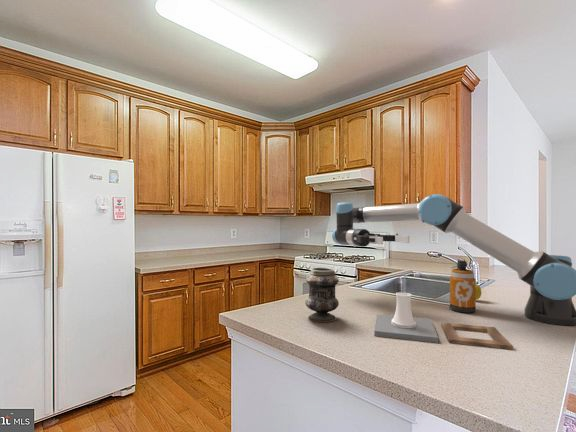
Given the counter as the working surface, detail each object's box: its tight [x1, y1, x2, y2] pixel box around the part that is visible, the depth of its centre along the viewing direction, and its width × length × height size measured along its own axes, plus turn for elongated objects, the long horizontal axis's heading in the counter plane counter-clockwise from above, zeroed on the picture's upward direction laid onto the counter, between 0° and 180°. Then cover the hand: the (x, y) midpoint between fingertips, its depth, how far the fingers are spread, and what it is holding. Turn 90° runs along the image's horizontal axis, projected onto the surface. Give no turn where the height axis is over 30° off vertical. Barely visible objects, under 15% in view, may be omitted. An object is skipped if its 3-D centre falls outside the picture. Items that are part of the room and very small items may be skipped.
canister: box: [449, 259, 477, 314], centre depth 126 cm, size 9×11×20 cm
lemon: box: [476, 283, 482, 301], centre depth 140 cm, size 6×6×8 cm
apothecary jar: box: [304, 266, 340, 323], centre depth 115 cm, size 12×12×18 cm
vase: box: [392, 291, 416, 328], centre depth 104 cm, size 8×8×10 cm
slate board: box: [374, 313, 439, 344], centre depth 104 cm, size 18×18×2 cm
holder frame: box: [440, 321, 514, 351], centre depth 98 cm, size 16×16×1 cm
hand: (395, 239), depth 119 cm, fingers open, 13 cm apart
